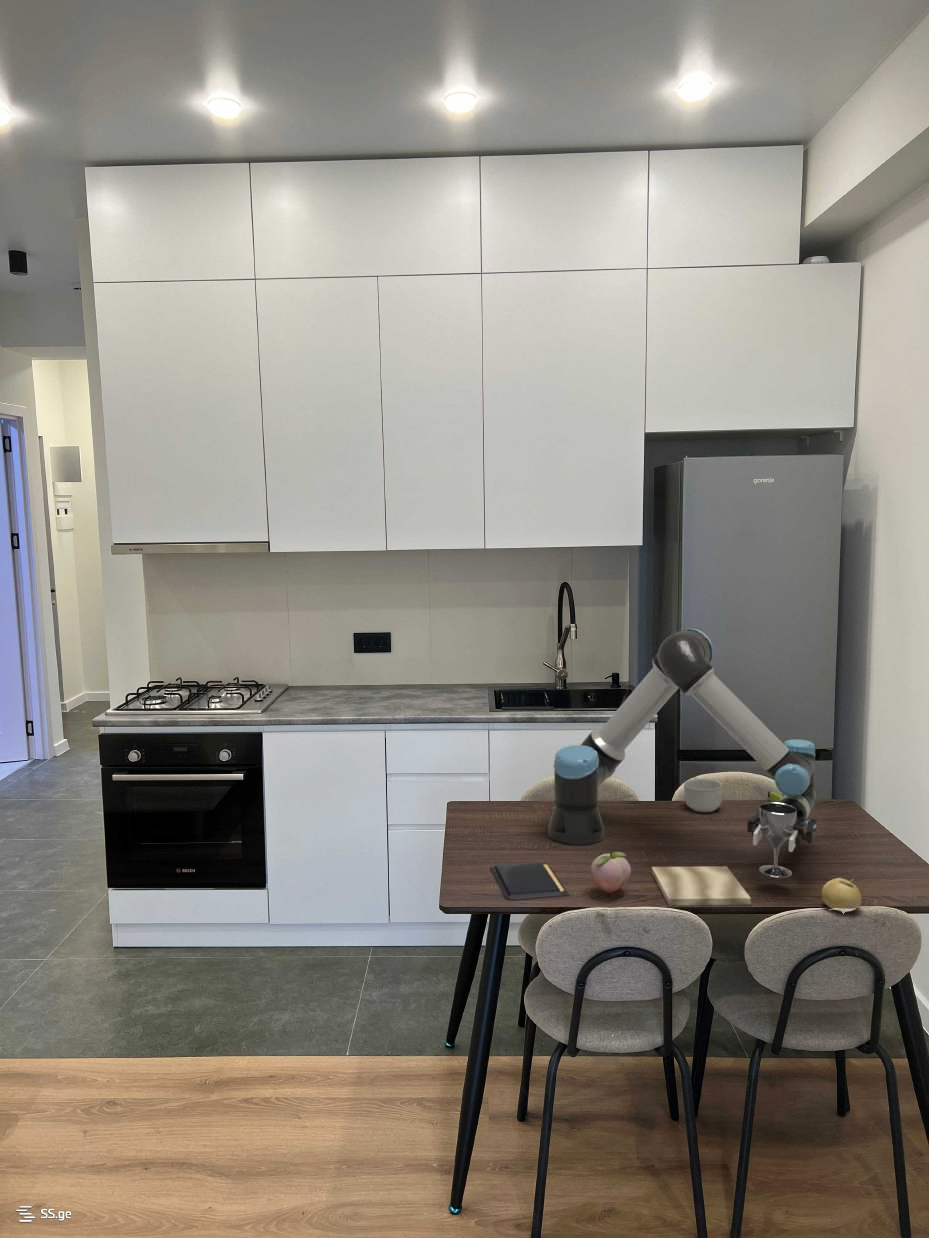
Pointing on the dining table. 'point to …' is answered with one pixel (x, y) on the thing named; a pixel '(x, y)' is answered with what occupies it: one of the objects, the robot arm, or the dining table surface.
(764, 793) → the kitchen knife
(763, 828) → the wine glass
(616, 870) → the decorative fruit
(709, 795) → the teacup
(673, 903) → the board
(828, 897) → the onion
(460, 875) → the dining table surface
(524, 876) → the wallet
